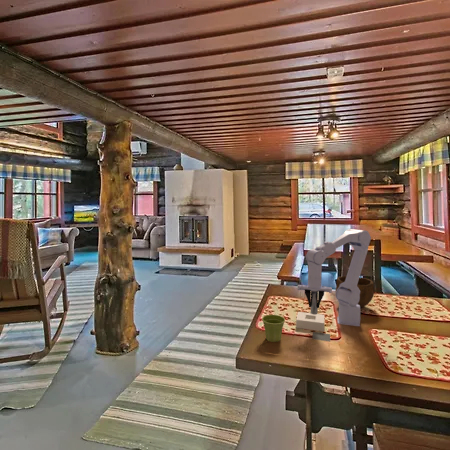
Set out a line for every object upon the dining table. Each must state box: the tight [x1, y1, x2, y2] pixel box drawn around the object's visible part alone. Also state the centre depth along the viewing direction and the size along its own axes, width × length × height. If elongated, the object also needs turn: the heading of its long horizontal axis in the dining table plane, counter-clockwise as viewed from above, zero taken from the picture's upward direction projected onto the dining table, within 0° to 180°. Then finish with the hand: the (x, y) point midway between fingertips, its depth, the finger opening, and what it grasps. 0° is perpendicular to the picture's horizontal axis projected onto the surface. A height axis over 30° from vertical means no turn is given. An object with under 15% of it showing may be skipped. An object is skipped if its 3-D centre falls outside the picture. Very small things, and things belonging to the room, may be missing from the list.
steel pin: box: [309, 291, 319, 315], centre depth 135 cm, size 3×3×10 cm
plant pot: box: [261, 314, 286, 343], centre depth 126 cm, size 9×9×9 cm
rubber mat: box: [312, 331, 331, 342], centre depth 128 cm, size 7×7×1 cm
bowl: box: [335, 275, 375, 308], centre depth 163 cm, size 19×19×15 cm
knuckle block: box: [295, 311, 325, 332], centre depth 139 cm, size 12×10×4 cm
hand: (314, 306), depth 135 cm, fingers closed on steel pin, 3 cm apart
